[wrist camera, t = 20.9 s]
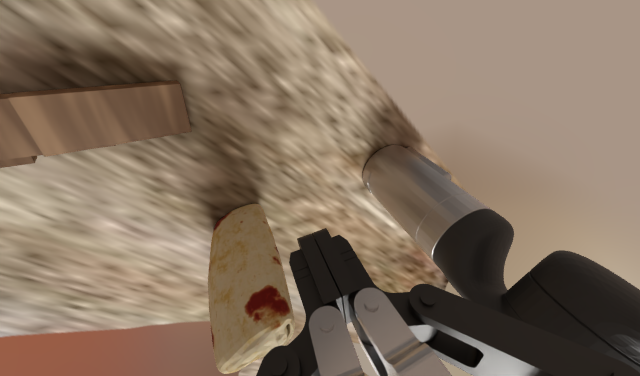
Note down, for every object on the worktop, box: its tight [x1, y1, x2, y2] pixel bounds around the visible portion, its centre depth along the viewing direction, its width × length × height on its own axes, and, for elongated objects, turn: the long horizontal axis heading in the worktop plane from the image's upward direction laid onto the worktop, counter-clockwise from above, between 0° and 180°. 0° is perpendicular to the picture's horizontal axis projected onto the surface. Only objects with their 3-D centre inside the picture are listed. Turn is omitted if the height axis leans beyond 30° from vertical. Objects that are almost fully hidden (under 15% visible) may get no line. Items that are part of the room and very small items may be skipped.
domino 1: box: [0, 94, 116, 160], centre depth 22 cm, size 2×5×12 cm
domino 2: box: [8, 80, 192, 157], centre depth 24 cm, size 2×5×12 cm
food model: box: [208, 204, 295, 374], centre depth 31 cm, size 10×7×20 cm
